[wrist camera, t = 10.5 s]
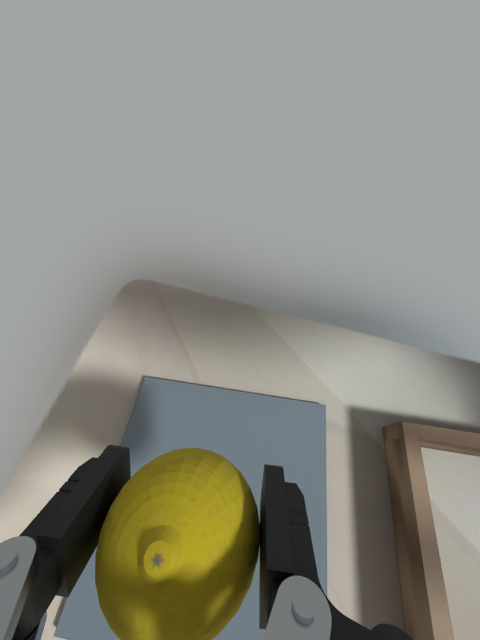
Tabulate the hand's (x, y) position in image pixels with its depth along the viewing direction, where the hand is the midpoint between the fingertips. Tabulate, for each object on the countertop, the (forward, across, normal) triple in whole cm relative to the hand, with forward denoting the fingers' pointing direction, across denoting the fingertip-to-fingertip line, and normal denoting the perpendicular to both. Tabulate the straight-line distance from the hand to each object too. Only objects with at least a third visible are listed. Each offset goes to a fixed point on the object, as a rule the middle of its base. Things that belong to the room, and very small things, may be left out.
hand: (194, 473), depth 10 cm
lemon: (+2, 0, +4) cm, 5 cm away
